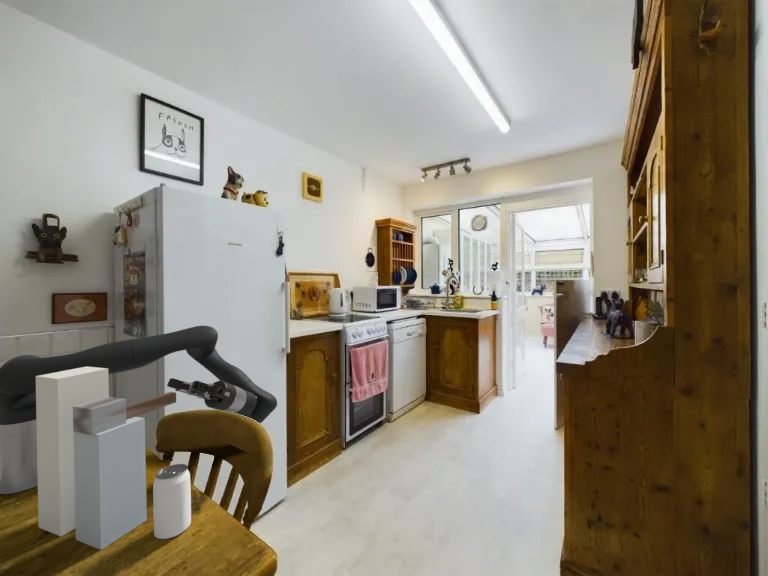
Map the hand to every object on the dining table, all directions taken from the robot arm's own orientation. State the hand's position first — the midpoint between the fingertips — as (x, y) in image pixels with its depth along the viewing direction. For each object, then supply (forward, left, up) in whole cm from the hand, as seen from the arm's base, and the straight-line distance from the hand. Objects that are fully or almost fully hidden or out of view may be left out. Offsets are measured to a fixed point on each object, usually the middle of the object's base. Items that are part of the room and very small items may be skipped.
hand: (181, 383), depth 83 cm
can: (+12, -12, -26) cm, 31 cm away
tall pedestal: (-12, -16, -26) cm, 33 cm away
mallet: (0, -11, -4) cm, 12 cm away
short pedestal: (0, -16, -26) cm, 30 cm away
